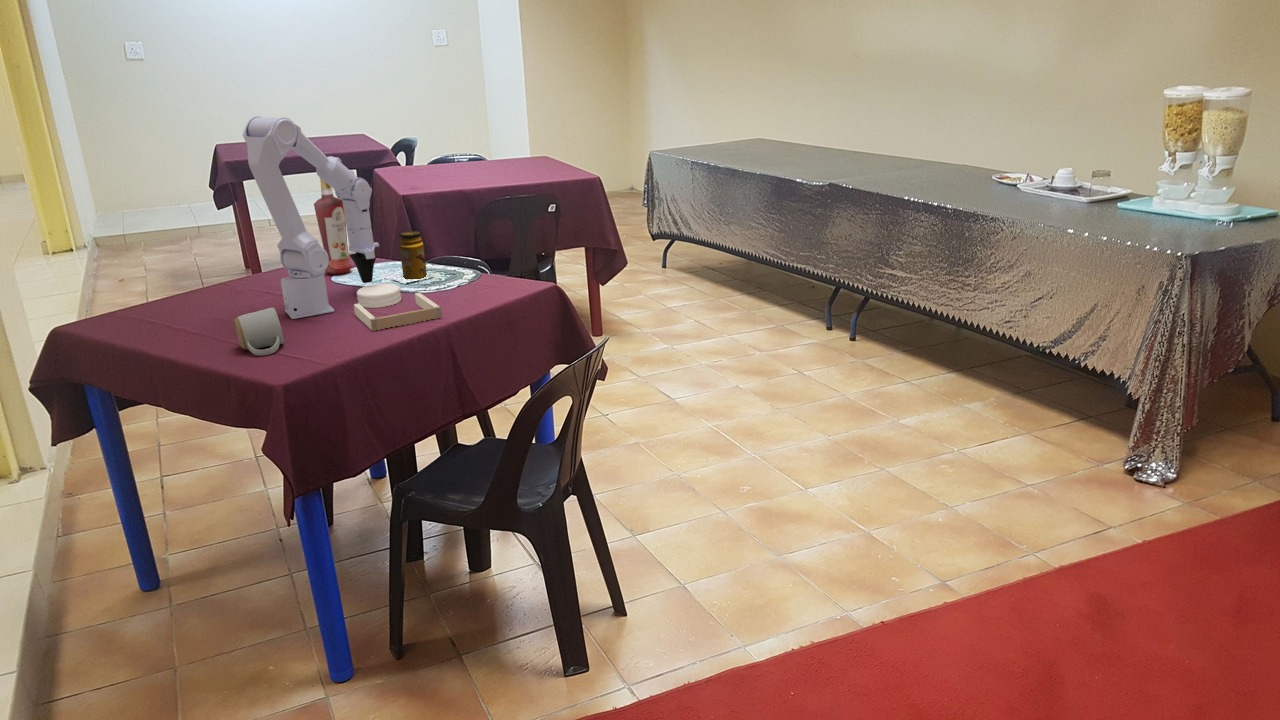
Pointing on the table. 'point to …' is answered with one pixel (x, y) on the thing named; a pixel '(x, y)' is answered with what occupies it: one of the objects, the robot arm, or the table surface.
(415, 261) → the condiment
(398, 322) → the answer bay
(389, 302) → the coaster
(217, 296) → the table surface
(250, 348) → the ceramic mug
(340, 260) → the liquor
